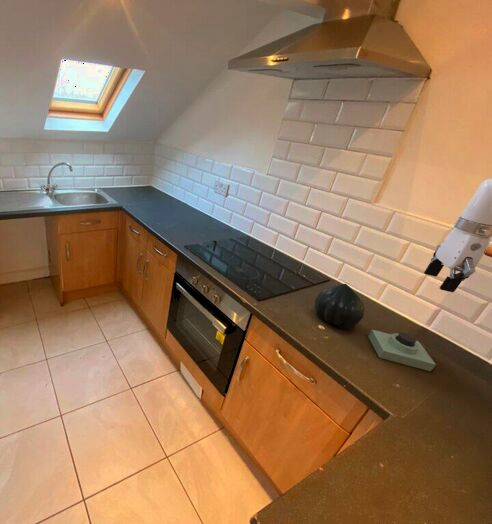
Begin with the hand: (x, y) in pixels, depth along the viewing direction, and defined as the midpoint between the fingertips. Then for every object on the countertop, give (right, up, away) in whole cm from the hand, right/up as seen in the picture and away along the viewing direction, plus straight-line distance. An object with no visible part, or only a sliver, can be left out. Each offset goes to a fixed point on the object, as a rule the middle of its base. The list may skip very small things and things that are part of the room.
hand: (437, 282), depth 87 cm
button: (-2, -20, +9) cm, 22 cm away
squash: (-16, -16, +24) cm, 33 cm away
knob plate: (-2, -24, +11) cm, 26 cm away
